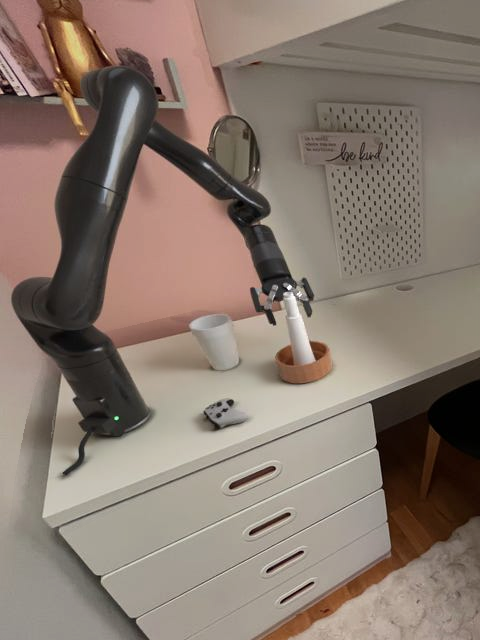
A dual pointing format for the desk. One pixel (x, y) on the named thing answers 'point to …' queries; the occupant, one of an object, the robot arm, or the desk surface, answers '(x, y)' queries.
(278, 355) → the bowl
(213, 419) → the game controller
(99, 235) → the robot arm
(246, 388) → the desk surface
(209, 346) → the foam cup
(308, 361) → the cosmetic bottle
